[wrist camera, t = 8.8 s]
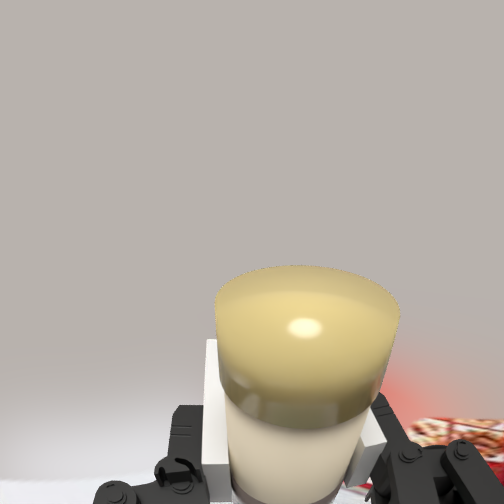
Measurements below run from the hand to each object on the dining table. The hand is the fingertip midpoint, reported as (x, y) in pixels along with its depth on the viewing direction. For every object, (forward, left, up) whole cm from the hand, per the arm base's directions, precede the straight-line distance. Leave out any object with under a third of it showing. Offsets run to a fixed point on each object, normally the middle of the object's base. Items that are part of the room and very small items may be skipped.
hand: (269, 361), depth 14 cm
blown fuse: (0, +5, -9) cm, 10 cm away
